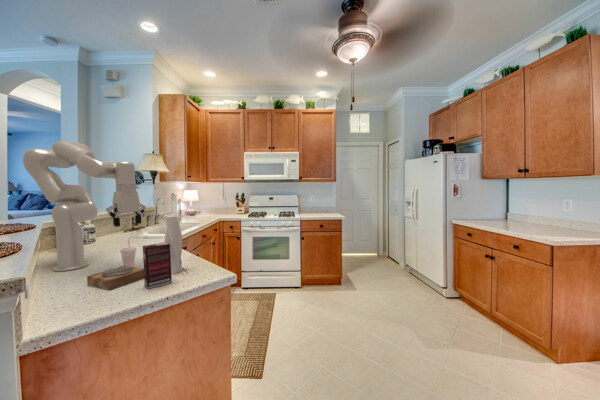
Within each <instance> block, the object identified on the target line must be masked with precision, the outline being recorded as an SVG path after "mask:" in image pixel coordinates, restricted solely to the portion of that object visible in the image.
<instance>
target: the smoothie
mask: <svg viewBox="0 0 600 400" xmlns="http://www.w3.org/2000/svg"><path fill="white" fill-rule="evenodd" d="M127 241H128V242H127V243H128V244H127V245H128V247H124V248H121V249H119V252H120V256H121V259H122V266H129V267H135V260H136V253H137V247H134V246H133V247H131V241H130V239H127Z"/></svg>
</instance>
